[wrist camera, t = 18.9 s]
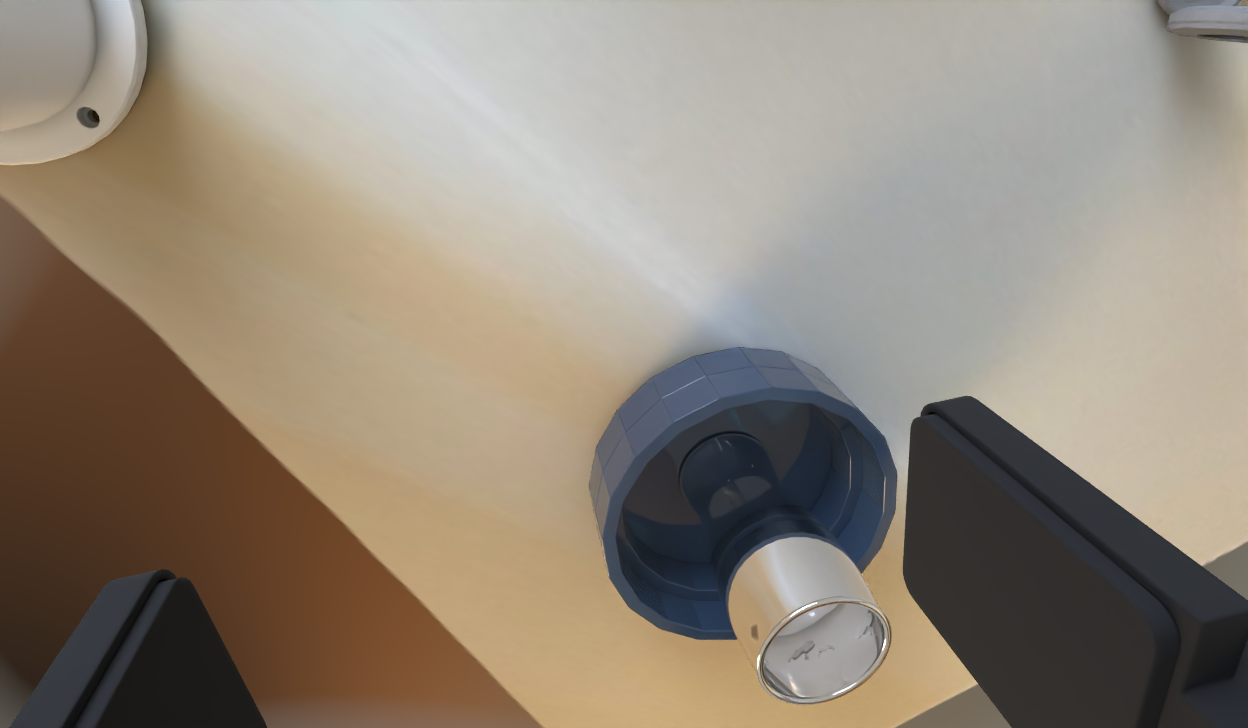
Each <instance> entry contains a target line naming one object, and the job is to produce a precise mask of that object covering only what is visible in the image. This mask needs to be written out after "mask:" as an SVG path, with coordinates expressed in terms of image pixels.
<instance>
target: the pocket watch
mask: <svg viewBox="0 0 1248 728" xmlns="http://www.w3.org/2000/svg"><path fill="white" fill-rule="evenodd" d="M1157 1H1158V3H1159V5H1160V6H1161V8H1162V9H1163V10H1164V11H1165V12H1166V13H1167V14H1168V15H1170V17H1169V20H1168V23H1167V24H1168V29H1167V31H1169V32H1172V33H1175V34H1178V35H1181V36H1188V37H1195V38H1202V39H1209V40H1218V41H1231V42H1243V43H1248V6H1236V5H1237V4H1238V3H1239V2H1240V1H1241V0H1157Z"/></svg>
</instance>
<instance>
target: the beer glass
mask: <svg viewBox="0 0 1248 728" xmlns="http://www.w3.org/2000/svg"><path fill="white" fill-rule="evenodd" d="M680 487H681V491H682V494H683V496H684V498H685V500H686V501H687V503H688V504H689V505H690V507H691V508H692V509H693V510H694V511H695V513H696V514H697V515H698V516H699V518H700V519H701V521H702V523H703V525H704V528H705V531H706V535H707V540H708V546H709V551H710V557H711V563H712V568H713V573H714V577H715V581H716V585H717V589H718V593H719V597H720V599H721V602H722V605H723V607H724V610H725V613H726V615H727V618H728V620H729V622H730V624H731V626H732V629H733V631H734V633H735V635H736V637H737V639H738V641H739V643H740V645H741V647H742V649H743V650H744V652H745V654H746V656H747V658H748V660H749V661H750V663H751V665H752V667H753V668H754V670H755V672H756V674H757V676H758V679H759V681H760V683H761V685H762V687H763V688H764V689H765V690H766V692H767V693H769V694H770V695H771V696H773V697H774V698H776V699H778V700H780V701H783V702H786V703H790V704H796V705H811V704H819V703H823V702H827V701H831V700H834V699H836V698H839V697H841V696H843V695H846V694H847V693H849V692H851V691H853V690H854V689H856V688H858V687H859V686H860V685H862V684H863V683H864V682H866V681H867V680H868V679H869V678H870V677H871V676H872V675H873V674H874V673H875V672H876V671H877V670H878V668H879V667H880V666H881V664H882V663H883V661H884V659H885V658H886V656H887V653H888V651H889V648H890V644H891V637H892V632H891V626H890V622H889V620H888V618H887V616H886V615H885V613H884V612H883V611H882V609H881V608H880V606H879V604H878V602H877V601H876V599H875V597H874V595H873V593H872V592H871V590H870V588H869V586H868V585H867V583H866V581H865V579H864V578H863V576H862V574H861V572H860V571H859V569H858V568H857V566H856V565H855V563H854V562H853V560H852V559H851V557H850V556H849V554H848V553H847V551H846V550H845V549H844V547H843V546H842V545H841V544H840V542H839V541H838V540H837V538H836V537H835V536H834V535H833V533H832V532H831V531H830V530H829V529H828V528H827V527H826V526H825V525H824V524H823V523H822V522H821V521H820V520H819V519H818V518H817V517H816V516H815V515H814V514H813V513H812V512H810V511H809V510H808V509H807V508H806V507H805V506H804V505H803V504H802V503H801V502H799V501H798V500H797V499H796V498H795V497H794V496H793V495H792V494H791V493H790V492H789V491H787V490H786V489H785V488H784V486H783V485H782V484H781V483H780V481H779V479H778V477H777V475H776V472H775V469H774V466H773V463H772V460H771V458H770V455H769V453H768V452H767V450H766V449H765V447H764V446H763V445H762V444H761V443H760V442H759V441H757V440H756V439H754V438H752V437H750V436H747V435H744V434H738V433H728V434H722V435H718V436H715V437H712V438H710V439H708V440H706V441H704V442H703V443H701V444H700V445H699V446H697V447H696V448H695V449H694V450H693V451H692V452H691V453H690V455H689V456H688V457H687V459H686V460H685V462H684V464H683V467H682V469H681V473H680Z"/></svg>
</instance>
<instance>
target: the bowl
mask: <svg viewBox="0 0 1248 728" xmlns="http://www.w3.org/2000/svg"><path fill="white" fill-rule="evenodd" d="M728 433H738V434H744V435H747V436H750V437H752V438H754V439H756V440H757V441H759V442H760V443H761V444H762V445H763V446H764V447H765V449H766V450H767V452H768V453H769V455H770V458H771V460H772V463H773V466H774V469H775V472H776V475H777V477H778V479H779V481H780V483H781V484H782V485H783V486H784V488H785V489H786V490H787V491H789V492H790V493H791V494H792V495H793V496H794V497H795V498H796V499H797V500H798V501H799V502H801V503H802V504H803V505H804V506H805V507H806V508H807V509H808V510H809V511H810V512H812V513H813V514H814V515H815V516H816V517H817V518H818V519H819V520H820V521H821V522H822V523H823V524H824V525H825V526H826V527H827V528H828V529H829V530H830V531H831V532H832V533H833V535H834V536H835V537H836V538H837V540H838V541H839V542H840V544H841V545H842V546H843V547H844V549H845V550H846V551H847V553H848V554H849V556H850V557H851V559H852V560H853V562H854V563H855V565H856V566H857V568H858V569H859V571H860V572H861V574H862V573H863V571H864V570H865V569H866V567H867V566H868V565H869V564H870V562H871V561H872V560H873V558H874V557H875V556H876V554H877V553H878V552H879V550H880V548H881V547H882V544H883V542H884V539H885V537H886V534H887V532H888V529H889V527H890V524H891V522H892V519H893V516H894V514H895V509H896V489H897V470H896V467H895V464H894V462H893V459H892V456H891V453H890V450H889V447H888V445H887V442H886V439H885V437H884V436H883V435H882V434H881V432H880V431H879V430H878V429H877V428H876V427H875V426H874V425H873V424H872V423H871V422H870V421H869V420H868V419H867V417H866V416H865V415H864V414H863V413H862V412H861V411H860V410H859V409H858V408H857V407H856V406H855V405H854V404H853V403H852V402H851V401H850V400H849V399H848V398H847V397H846V396H845V395H844V394H843V393H842V392H841V391H840V390H839V389H838V388H837V387H836V386H835V385H834V384H833V383H832V382H831V381H830V380H829V379H828V378H827V377H826V376H825V375H824V374H823V373H822V372H821V371H820V370H819V369H818V368H816V367H814V366H812V365H810V364H808V363H805V362H803V361H801V360H799V359H797V358H795V357H793V356H791V355H788V354H786V353H784V352H781V351H773V350H763V349H753V348H744V347H739V348H738V347H737V348H732V349H727V350H722V351H717V352H712V353H707V354H702V355H697V356H694V357H691V358H689V359H687V360H685V361H683V362H681V363H679V364H677V365H675V366H673V367H671V368H669V369H667V370H665V371H663V372H662V373H660V374H658V375H656V376H654V377H652V378H651V379H649V380H648V381H647V382H646V383H645V384H644V385H643V386H642V387H641V388H640V389H639V390H638V391H637V392H636V393H635V394H633V395H632V396H631V397H630V398H629V399H628V400H627V401H626V402H625V403H624V404H623V405H622V406H621V407H620V408H619V409H618V410H617V411H616V413H615V415H614V416H613V418H612V420H611V422H610V423H609V425H608V427H607V429H606V430H605V432H604V434H603V436H602V437H601V439H600V441H599V443H598V444H597V446H596V450H595V455H594V460H593V466H592V471H591V476H590V481H589V490H590V495H591V501H592V506H593V512H594V517H595V522H596V526H597V530H598V535H599V539H600V543H601V547H602V551H603V556H604V560H605V564H606V568H607V572H608V577H609V579H610V580H611V582H612V583H613V585H614V586H615V588H616V589H617V591H618V592H619V594H620V595H621V597H622V598H623V600H624V601H625V603H626V604H627V606H628V607H629V608H630V609H631V610H633V611H634V612H636V613H637V614H639V615H640V616H642V617H643V618H645V619H646V620H648V621H649V622H650V623H652V624H653V625H655V626H656V627H658V628H659V629H661V630H665V631H668V632H672V633H676V634H679V635H683V636H686V637H690V638H693V639H697V640H698V639H699V640H738V639H737V637H736V635H735V633H734V631H733V629H732V626H731V624H730V622H729V620H728V618H727V615H726V613H725V610H724V607H723V605H722V602H721V599H720V597H719V593H718V589H717V585H716V581H715V577H714V573H713V568H712V563H711V557H710V551H709V546H708V540H707V535H706V531H705V528H704V525H703V523H702V521H701V519H700V518H699V516H698V515H697V514H696V513H695V511H694V510H693V509H692V508H691V507H690V505H689V504H688V503H687V501H686V500H685V498H684V496H683V494H682V491H681V487H680V473H681V469H682V467H683V464H684V462H685V460H686V459H687V457H688V456H689V455H690V453H691V452H692V451H693V450H694V449H695V448H696V447H697V446H699V445H700V444H701V443H703V442H704V441H706V440H708V439H710V438H712V437H715V436H718V435H722V434H728Z"/></svg>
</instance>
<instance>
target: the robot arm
mask: <svg viewBox="0 0 1248 728" xmlns="http://www.w3.org/2000/svg"><path fill="white" fill-rule="evenodd" d="M147 43H148V38H147V31H146V24H145V17H144V11H143V6H142V3H141V0H0V164H3V165H21V164H38V163H43V162H47V161H51V160H55V159H59V158H63V157H66V156H69V155H72V154H74V153H77V152H80V151H82V150H85V149H88V148H89V147H91V146H92V145H94V144H95V143H97V142H98V141H100V140H102V139H103V138H105V137H106V136H108V135H109V134H110V133H111V132H112V131H113V130H114V129H115V128H116V127H117V126H118V125H119V124H120V123H121V121H122V120H123V119H124V118H125V117H126V116H127V115H128V113H129V111H130V109H131V107H132V105H133V104H134V102H135V100H136V98H137V96H138V95H139V92H140V89H141V85H142V81H143V78H144V74H145V70H146V63H147ZM93 110H95V111H96V112H97V114H98V115H99V118H100V121H97V120H95V119H94V117H93V116H92V112H93ZM903 576H904V580H905V583H906V586H907V589H908V591H909V593H910V594H911V596H912V598H913V599H914V600H915V602H916V603H917V604H918V605H919V607H920V608H921V609H922V611H923V612H924V613H925V615H926V616H927V617H928V619H929V620H930V621H931V623H932V624H933V625H934V626H935V628H936V629H937V630H938V632H939V633H940V634H941V636H942V637H943V638H944V640H945V641H946V642H947V643H948V645H949V646H950V647H951V649H952V650H953V651H954V653H955V654H956V655H957V657H958V658H959V659H960V660H961V662H962V663H963V664H964V666H965V667H966V668H967V670H968V671H969V672H970V674H971V675H972V676H973V677H974V679H975V680H976V681H977V683H978V684H979V685H980V687H981V688H982V689H983V691H984V692H985V693H986V694H987V696H988V697H989V698H990V699H991V701H992V702H993V703H994V705H995V706H996V707H997V709H998V710H999V711H1000V713H1001V714H1002V715H1003V717H1004V718H1005V719H1006V721H1007V722H1008V723H1009V724H1010V726H1011V727H1012V728H1248V600H1246V599H1245V598H1244V597H1242V596H1241V595H1240V594H1238V593H1237V592H1236V591H1234V590H1233V589H1232V588H1230V587H1229V586H1228V585H1226V584H1225V583H1223V582H1222V581H1221V580H1219V579H1218V578H1217V577H1215V576H1214V575H1213V574H1211V573H1210V572H1209V571H1207V570H1206V569H1205V568H1203V567H1202V566H1201V565H1199V564H1198V563H1197V562H1195V561H1194V560H1193V559H1191V558H1190V557H1188V556H1187V555H1186V554H1184V553H1183V552H1182V551H1180V550H1179V549H1178V548H1176V547H1175V546H1174V545H1172V544H1171V543H1170V542H1168V541H1167V540H1166V539H1164V538H1163V537H1162V536H1160V535H1159V534H1157V533H1156V532H1155V531H1153V530H1152V529H1151V528H1149V527H1148V526H1147V525H1145V524H1144V523H1143V522H1141V521H1140V520H1139V519H1137V518H1136V517H1135V516H1133V515H1132V514H1131V513H1129V512H1128V511H1126V510H1125V509H1124V508H1122V507H1121V506H1120V505H1118V504H1117V503H1116V502H1114V501H1113V500H1112V499H1110V498H1109V497H1108V496H1106V495H1105V494H1104V493H1102V492H1101V491H1100V490H1098V489H1097V488H1095V487H1094V486H1093V485H1091V484H1090V483H1089V482H1087V481H1086V480H1085V479H1083V478H1082V477H1081V476H1079V475H1078V474H1077V473H1075V472H1074V471H1073V470H1071V469H1070V468H1069V467H1067V466H1066V465H1064V464H1063V463H1062V462H1060V461H1059V460H1058V459H1056V458H1055V457H1054V456H1052V455H1051V454H1050V453H1048V452H1047V451H1046V450H1044V449H1043V448H1042V447H1040V446H1039V445H1038V444H1036V443H1035V442H1033V441H1032V440H1031V439H1029V438H1028V437H1027V436H1025V435H1024V434H1023V433H1021V432H1020V431H1019V430H1017V429H1016V428H1015V427H1013V426H1012V425H1011V424H1009V423H1008V422H1007V421H1005V420H1004V419H1002V418H1001V417H1000V416H998V415H997V414H996V413H994V412H993V411H992V410H990V409H989V408H988V407H986V406H985V405H984V404H982V403H981V402H980V401H978V400H977V399H975V398H973V397H971V396H963V397H959V398H954V399H949V400H945V401H940V402H935V403H931V404H928V405H926V406H924V408H923V410H922V412H921V416H920V417H917V418H915V419H914V420H913V422H912V424H911V431H910V449H909V467H908V485H907V502H906V520H905V538H904V556H903ZM9 728H267V726H266V724H265V721H264V719H263V717H262V716H261V714H260V712H259V710H258V708H257V706H256V704H255V702H254V700H253V698H252V696H251V694H250V693H249V691H248V689H247V687H246V685H245V683H244V681H243V679H242V677H241V675H240V673H239V672H238V670H237V668H236V666H235V664H234V662H233V660H232V658H231V656H230V654H229V652H228V651H227V649H226V647H225V645H224V643H223V641H222V639H221V637H220V635H219V633H218V632H217V629H216V628H215V626H214V624H213V622H212V620H211V618H210V616H209V614H208V612H207V610H206V608H205V607H204V605H203V603H202V601H201V599H200V597H199V595H198V593H197V591H196V589H195V587H194V586H193V584H192V583H191V581H190V580H188V579H187V578H176V576H175V575H174V574H173V573H172V572H170V571H169V570H163V569H161V570H156V571H152V572H147V573H143V574H139V575H133V576H129V577H124V578H120V579H116V580H113V581H111V582H108V583H107V585H106V586H105V587H104V588H103V589H102V590H101V592H100V593H99V595H98V596H97V598H96V599H95V601H94V602H93V604H92V605H91V607H90V608H89V610H88V611H87V613H86V614H85V616H84V617H83V619H82V620H81V622H80V623H79V625H78V626H77V628H76V629H75V630H74V632H73V633H72V635H71V636H70V638H69V639H68V641H67V642H66V644H65V645H64V647H63V649H62V650H61V651H60V653H59V654H58V656H57V657H56V659H55V660H54V662H53V663H52V665H51V666H50V668H49V669H48V671H47V672H46V674H45V675H44V677H43V678H42V680H41V681H40V683H39V684H38V686H37V687H36V689H35V690H34V692H33V693H32V694H31V696H30V698H29V699H28V701H27V702H26V704H25V705H24V706H23V708H22V709H21V711H20V712H19V714H18V715H17V717H16V719H15V720H14V721H13V723H12V724H11V726H10V727H9Z"/></svg>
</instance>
